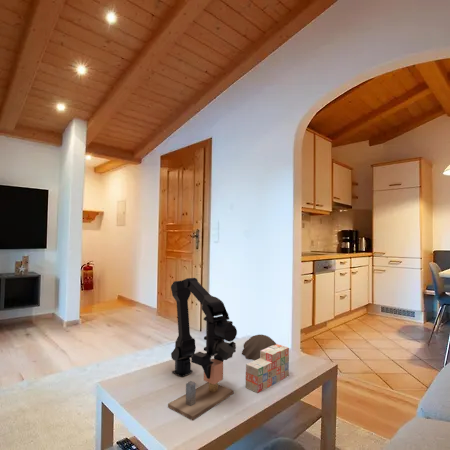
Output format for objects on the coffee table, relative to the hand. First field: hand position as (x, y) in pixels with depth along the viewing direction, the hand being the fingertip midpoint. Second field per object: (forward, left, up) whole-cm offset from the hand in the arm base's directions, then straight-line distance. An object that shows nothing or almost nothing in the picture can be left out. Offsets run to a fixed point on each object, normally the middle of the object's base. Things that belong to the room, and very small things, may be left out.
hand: (213, 375), depth 117 cm
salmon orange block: (0, 0, -2) cm, 2 cm away
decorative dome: (-7, +45, -7) cm, 46 cm away
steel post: (0, -12, -7) cm, 14 cm away
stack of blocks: (+11, +22, -7) cm, 26 cm away
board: (0, -6, -7) cm, 9 cm away
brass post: (0, 0, -7) cm, 7 cm away
